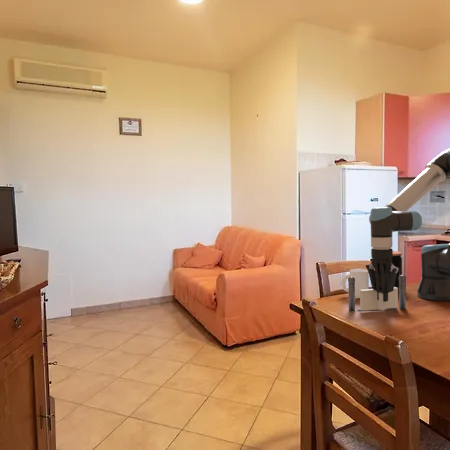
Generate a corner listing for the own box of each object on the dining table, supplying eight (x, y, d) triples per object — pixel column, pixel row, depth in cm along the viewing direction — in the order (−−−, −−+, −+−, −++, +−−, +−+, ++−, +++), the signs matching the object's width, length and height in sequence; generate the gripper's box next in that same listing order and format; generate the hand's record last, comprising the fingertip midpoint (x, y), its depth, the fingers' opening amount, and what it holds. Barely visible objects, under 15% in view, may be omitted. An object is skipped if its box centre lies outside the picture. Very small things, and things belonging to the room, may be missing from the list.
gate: (395, 306, 148) (395, 287, 147) (398, 307, 146) (397, 288, 146) (360, 309, 146) (359, 289, 145) (362, 310, 144) (362, 290, 144)
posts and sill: (404, 307, 149) (404, 274, 148) (407, 309, 146) (407, 275, 145) (347, 309, 149) (346, 276, 148) (349, 311, 147) (348, 277, 146)
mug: (340, 293, 174) (339, 268, 173) (367, 294, 171) (366, 268, 171) (342, 298, 166) (341, 272, 165) (370, 298, 163) (369, 272, 163)
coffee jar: (404, 292, 172) (404, 253, 171) (380, 292, 174) (379, 254, 173) (398, 287, 182) (398, 250, 181) (375, 286, 184) (375, 250, 183)
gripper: (403, 248, 137) (404, 311, 138) (372, 245, 148) (373, 304, 149) (391, 250, 133) (392, 315, 134) (360, 247, 144) (362, 307, 145)
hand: (382, 309), depth 142 cm, fingers closed
